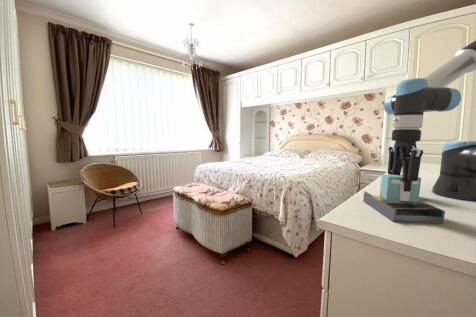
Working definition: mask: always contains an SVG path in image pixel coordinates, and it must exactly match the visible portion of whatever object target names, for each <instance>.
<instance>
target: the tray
mask: <svg viewBox="0 0 476 317" xmlns="http://www.w3.org/2000/svg"><path fill="white" fill-rule="evenodd" d="M362 202H363V203H365V204H366V205H367V206H369V207H371V208H372V209H374V210H375V211H377V212H378V213H379V214H381V215H382V216H384V217H385V218H387V219H388V220H389V221H391V222H393V223H394V222H395V223H413V224H414V223H415V224H432V225H433V224H435V225H444V221H445V216H446V215H445V214H446V211H445V210H444V209H441V208H439V207H436V206H435V205H432V204H430V203H427V202H425V201H423V200H420V199H419V200H418V202H413V201H391V200H385V199H383V198H381V197H380V196H378V195H374V194H371V193H369V192H367V191H365V190H364V191H363V200H362Z"/></svg>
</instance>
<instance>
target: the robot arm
mask: <svg viewBox="0 0 476 317" xmlns="http://www.w3.org/2000/svg"><path fill="white" fill-rule="evenodd" d="M474 71H476V39H475V40H474V41H472V42H470V43H469V44H467V45H465V46H464V47H462V48H461V49H460V50H458V51H456V52H455V53H454V55H452V57H451V59H450V60H448V61H447V62H445V63H444V64H442V65H441V66H439V67H438V68H436V69H435V70H433V71H432V72H431V73H428V74H427V75H426V76H424V77H423V78H422V77H421V78H420V77H418V78H415V77H414V78H409V79H405V80H400V81H399V83H398V84H397V85H396V86H397V87H396V92H395V94H393V95H391V96H389V97H387V98H386V99H385V101H384V103H383V109H384V111H385V113H387V115H393V118H392V119H393V120H392V121H393V123H392V124H393V125H392V128H394V129H393V130H391V140H392V141H394V145H393V146H389V147H388V164H387V175H401V170H402V167H403V180H401V184H400V192H399V200H400V201H409V196H410V191H411V183H412V182H413V181H418V177H419V176H420V175H419V174H420V173H419V172H420V167H421V161H422V160H421V159H422V156H423V154H424V150H423V149H418V147H417V142H420V141H421V139H422V130H421V128H423V121H424V113H429V112H430V113H431V112H438V113H441V112H449V111H450V112H451V111H452V110H454V109H456V108H457V107H458V106H459V105H460V102H461V99H462V94H461V92H460V90H458V89H457V88H454V87H453V88H451V87H449V85H450V84H451V83H453V82H455V81H456V80H458V79H459V78H461V77H462V76H464V75H465V74H469V73H472V72H474ZM440 160H441V162H440V170H439V175H438V177H437V179H436V181H435V183H434V184H433V186H432V191H431V192H432V193H433V194H435V195H439V196H442V197H444V198H445V197H446V198H450V199H457V200H466V201H476V140H475V141H474V140H473V141H472V140H470V141H452V142H446V143H445V144H444V145H443V148H442V151H441V159H440Z"/></svg>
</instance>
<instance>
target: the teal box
mask: <svg viewBox="0 0 476 317" xmlns="http://www.w3.org/2000/svg"><path fill="white" fill-rule="evenodd" d="M401 180H403V175H401V174H400V175H390V174H381V181H380V189H379V197H381V198H383V199H385V200H391V201H400V200H399V192H400V184H401ZM421 184H422V177H419V176H418V181H413V182H412V183H411V191H410V196H409V201H413V202H418V200H420V199H419V198H420V192H421Z"/></svg>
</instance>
